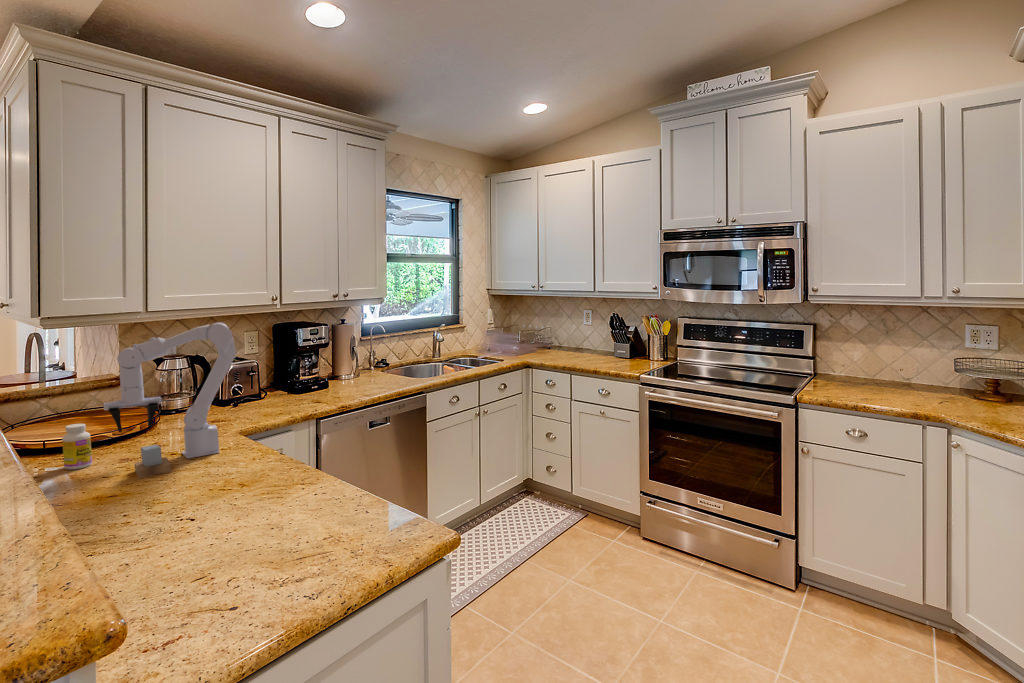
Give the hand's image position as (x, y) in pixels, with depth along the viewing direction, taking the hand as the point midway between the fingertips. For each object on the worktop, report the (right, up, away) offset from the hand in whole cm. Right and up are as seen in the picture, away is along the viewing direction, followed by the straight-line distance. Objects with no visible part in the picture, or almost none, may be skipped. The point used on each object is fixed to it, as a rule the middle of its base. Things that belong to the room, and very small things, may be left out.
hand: (135, 429), depth 164 cm
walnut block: (+11, -12, -7) cm, 18 cm away
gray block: (+11, -9, -8) cm, 16 cm away
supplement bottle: (-14, -11, -4) cm, 19 cm away
